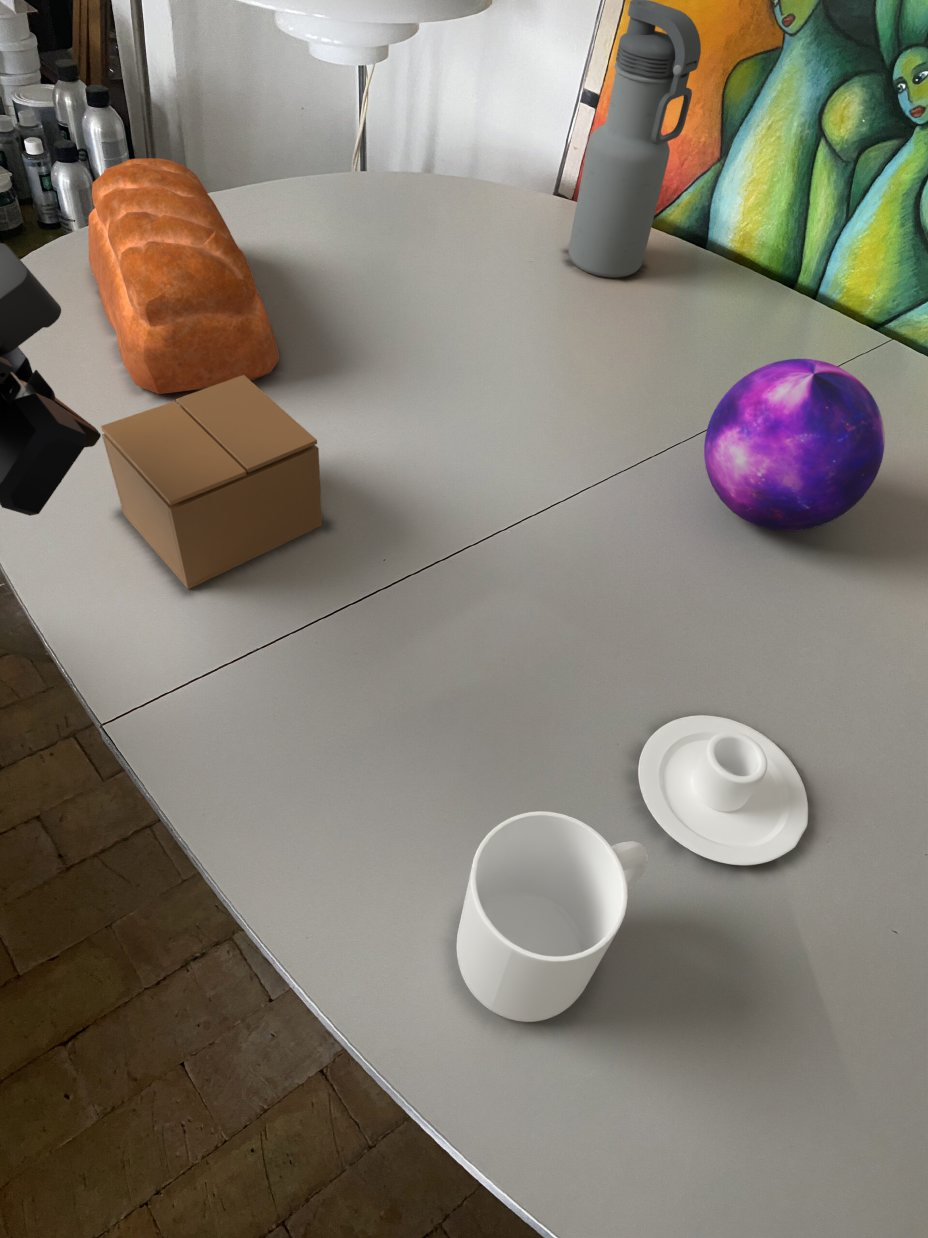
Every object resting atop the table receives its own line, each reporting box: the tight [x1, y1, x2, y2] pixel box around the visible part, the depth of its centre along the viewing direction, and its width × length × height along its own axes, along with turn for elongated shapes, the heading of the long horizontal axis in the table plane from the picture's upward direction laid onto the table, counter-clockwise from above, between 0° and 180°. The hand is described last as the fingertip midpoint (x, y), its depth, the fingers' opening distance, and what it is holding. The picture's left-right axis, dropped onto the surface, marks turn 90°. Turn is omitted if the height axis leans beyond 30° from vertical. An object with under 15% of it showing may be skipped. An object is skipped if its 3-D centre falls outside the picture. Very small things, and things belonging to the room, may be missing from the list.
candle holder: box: [637, 714, 809, 866], centre depth 60 cm, size 12×12×4 cm
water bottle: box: [568, 0, 702, 279], centre depth 103 cm, size 10×10×28 cm
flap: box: [100, 400, 246, 505], centre depth 67 cm, size 6×11×1 cm, turn 41°
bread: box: [87, 157, 280, 395], centre depth 92 cm, size 16×31×13 cm, turn 24°
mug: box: [456, 811, 649, 1023], centre depth 50 cm, size 12×8×10 cm
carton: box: [101, 375, 323, 590], centre depth 72 cm, size 13×11×9 cm
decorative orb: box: [703, 358, 886, 532], centre depth 78 cm, size 15×15×15 cm
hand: (95, 437), depth 62 cm, fingers closed
